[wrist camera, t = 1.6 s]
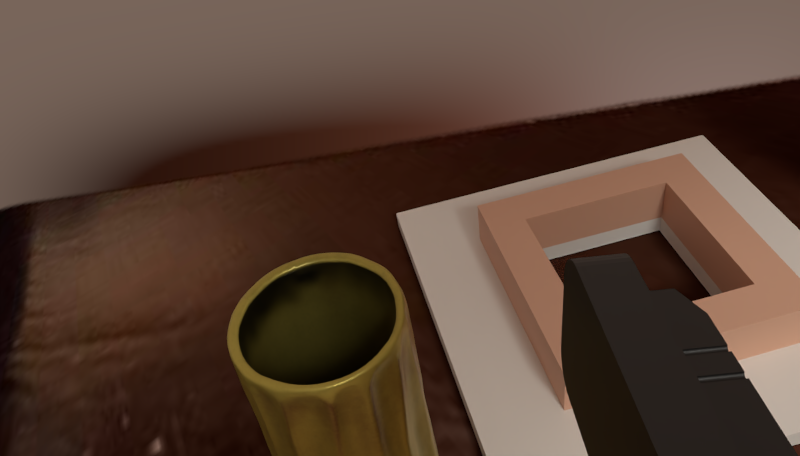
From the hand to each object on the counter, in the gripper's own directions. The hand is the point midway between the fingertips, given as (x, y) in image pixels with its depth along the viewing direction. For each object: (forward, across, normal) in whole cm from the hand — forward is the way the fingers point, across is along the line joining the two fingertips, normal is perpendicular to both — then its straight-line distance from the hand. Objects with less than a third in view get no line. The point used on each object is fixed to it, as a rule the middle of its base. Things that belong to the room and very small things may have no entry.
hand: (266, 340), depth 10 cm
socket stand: (+22, -13, +18) cm, 32 cm away
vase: (+11, 0, +21) cm, 24 cm away
